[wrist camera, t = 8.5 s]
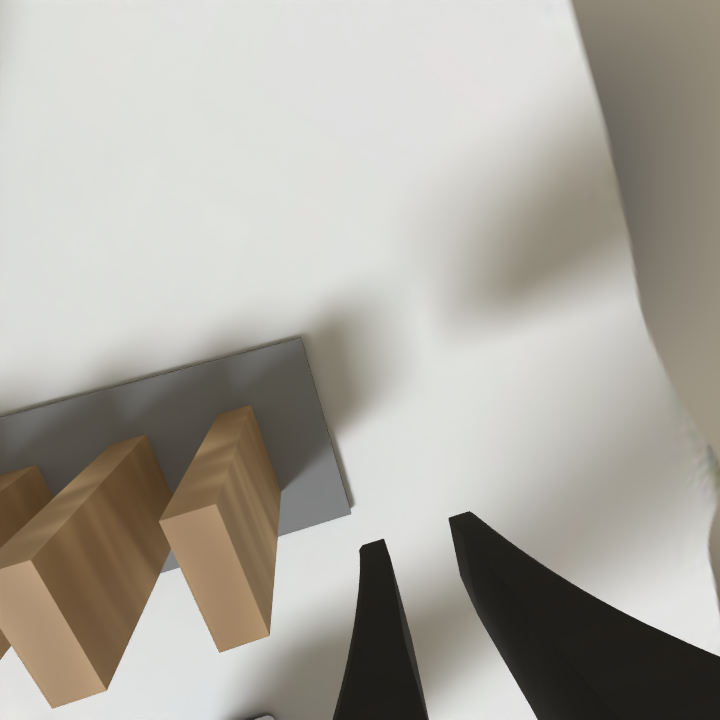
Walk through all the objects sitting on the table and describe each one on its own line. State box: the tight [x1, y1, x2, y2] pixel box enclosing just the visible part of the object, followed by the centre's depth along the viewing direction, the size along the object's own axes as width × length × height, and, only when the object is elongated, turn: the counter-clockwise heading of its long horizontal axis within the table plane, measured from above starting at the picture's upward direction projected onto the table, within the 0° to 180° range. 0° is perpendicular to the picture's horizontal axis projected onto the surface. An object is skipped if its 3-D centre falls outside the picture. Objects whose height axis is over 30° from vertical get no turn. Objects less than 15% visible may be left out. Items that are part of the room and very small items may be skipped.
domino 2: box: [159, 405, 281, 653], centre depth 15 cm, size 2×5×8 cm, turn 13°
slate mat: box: [0, 338, 351, 573], centre depth 18 cm, size 10×28×1 cm, turn 104°
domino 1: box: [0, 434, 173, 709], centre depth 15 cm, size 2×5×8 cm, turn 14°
